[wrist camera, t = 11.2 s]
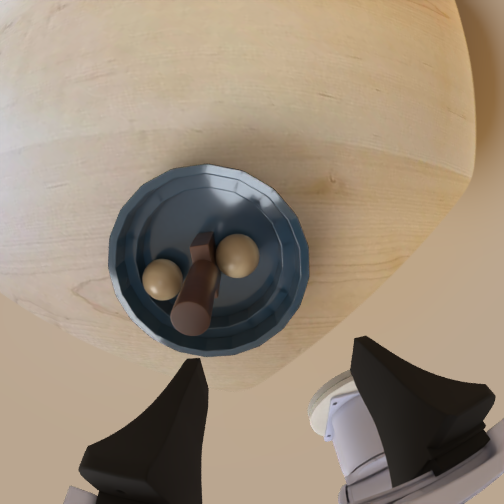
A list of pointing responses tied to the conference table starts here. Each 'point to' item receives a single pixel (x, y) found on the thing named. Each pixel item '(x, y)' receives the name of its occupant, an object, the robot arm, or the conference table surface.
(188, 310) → the stir paddle
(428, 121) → the conference table surface
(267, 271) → the bowl
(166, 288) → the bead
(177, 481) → the robot arm
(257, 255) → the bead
